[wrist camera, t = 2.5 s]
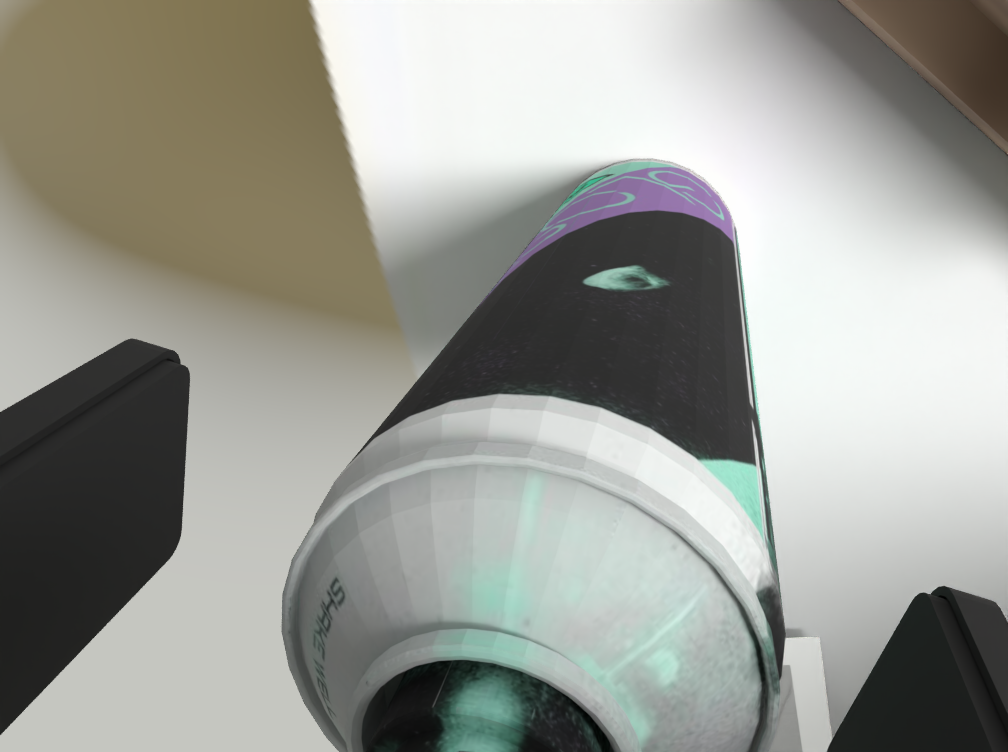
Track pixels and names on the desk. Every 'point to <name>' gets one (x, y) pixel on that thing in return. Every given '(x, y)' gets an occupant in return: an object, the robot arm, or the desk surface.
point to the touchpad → (802, 699)
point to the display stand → (951, 51)
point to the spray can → (562, 509)
